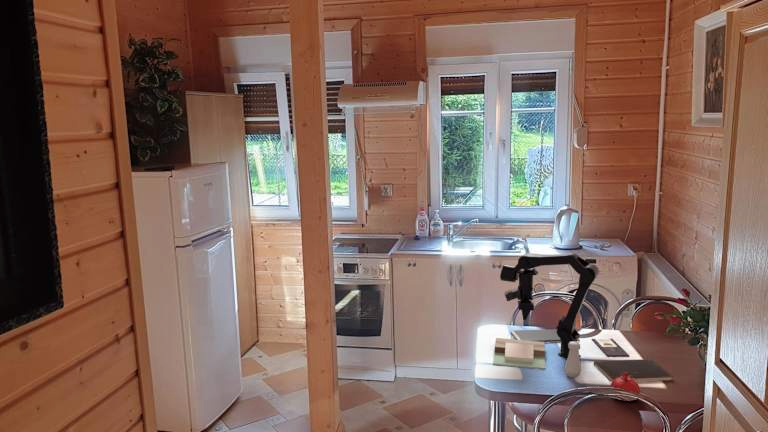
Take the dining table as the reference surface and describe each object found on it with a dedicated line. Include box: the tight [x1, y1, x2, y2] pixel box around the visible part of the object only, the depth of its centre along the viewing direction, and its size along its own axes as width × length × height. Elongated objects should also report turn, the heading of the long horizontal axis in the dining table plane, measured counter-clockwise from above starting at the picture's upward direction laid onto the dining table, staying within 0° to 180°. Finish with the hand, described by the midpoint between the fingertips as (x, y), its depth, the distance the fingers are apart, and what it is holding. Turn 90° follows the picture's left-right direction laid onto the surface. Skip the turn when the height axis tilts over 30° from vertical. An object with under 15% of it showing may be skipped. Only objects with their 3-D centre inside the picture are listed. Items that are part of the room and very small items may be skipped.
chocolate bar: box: [591, 338, 630, 358], centre depth 249 cm, size 9×1×18 cm
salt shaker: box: [564, 341, 582, 379], centre depth 222 cm, size 6×6×13 cm
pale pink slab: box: [505, 343, 533, 362], centre depth 237 cm, size 11×8×2 cm
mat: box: [492, 352, 546, 370], centre depth 236 cm, size 12×20×1 cm, turn 77°
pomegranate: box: [609, 372, 642, 394], centre depth 204 cm, size 10×10×9 cm
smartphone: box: [510, 328, 581, 343], centre depth 261 cm, size 13×27×2 cm, turn 95°
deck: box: [494, 337, 546, 358], centre depth 245 cm, size 10×20×3 cm, turn 77°
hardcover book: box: [593, 358, 673, 382], centre depth 225 cm, size 16×23×2 cm
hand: (524, 319), depth 248 cm, fingers closed
